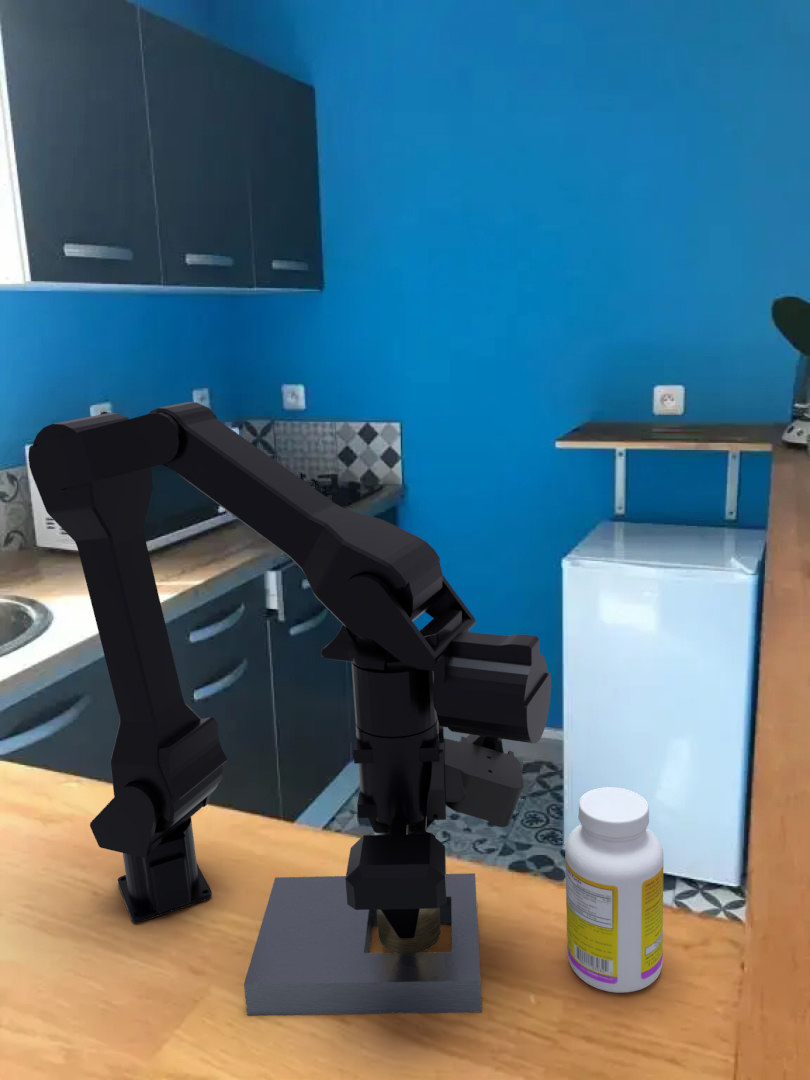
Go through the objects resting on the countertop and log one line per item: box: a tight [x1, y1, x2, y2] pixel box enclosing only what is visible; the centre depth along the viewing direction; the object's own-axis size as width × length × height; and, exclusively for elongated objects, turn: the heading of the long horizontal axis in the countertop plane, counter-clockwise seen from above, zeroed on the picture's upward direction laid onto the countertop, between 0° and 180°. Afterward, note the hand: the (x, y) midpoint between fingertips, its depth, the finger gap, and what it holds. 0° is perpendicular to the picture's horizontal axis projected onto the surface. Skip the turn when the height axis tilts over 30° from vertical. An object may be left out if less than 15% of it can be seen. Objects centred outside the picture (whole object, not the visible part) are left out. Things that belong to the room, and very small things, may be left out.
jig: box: [243, 872, 483, 1016], centre depth 69 cm, size 16×12×2 cm
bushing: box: [377, 831, 442, 953], centre depth 68 cm, size 5×5×7 cm
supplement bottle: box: [564, 786, 664, 994], centre depth 65 cm, size 7×7×13 cm
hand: (408, 915), depth 68 cm, fingers closed on bushing, 4 cm apart
